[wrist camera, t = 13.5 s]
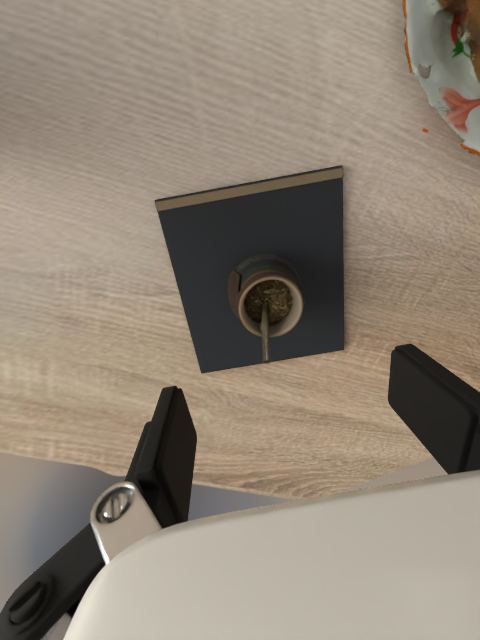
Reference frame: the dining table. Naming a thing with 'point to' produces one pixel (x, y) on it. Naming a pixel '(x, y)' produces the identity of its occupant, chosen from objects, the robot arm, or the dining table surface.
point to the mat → (252, 239)
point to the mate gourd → (266, 297)
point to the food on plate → (448, 60)
